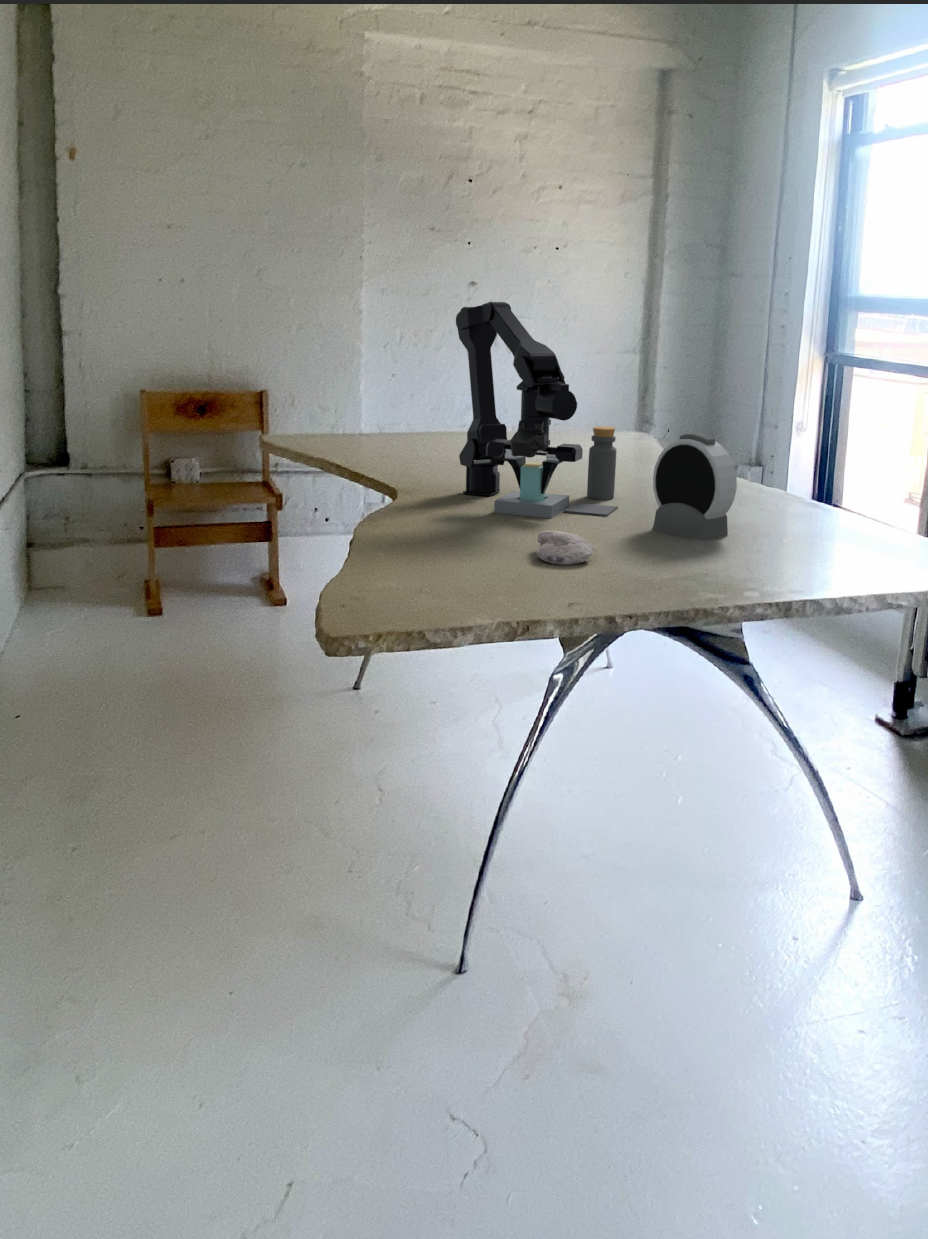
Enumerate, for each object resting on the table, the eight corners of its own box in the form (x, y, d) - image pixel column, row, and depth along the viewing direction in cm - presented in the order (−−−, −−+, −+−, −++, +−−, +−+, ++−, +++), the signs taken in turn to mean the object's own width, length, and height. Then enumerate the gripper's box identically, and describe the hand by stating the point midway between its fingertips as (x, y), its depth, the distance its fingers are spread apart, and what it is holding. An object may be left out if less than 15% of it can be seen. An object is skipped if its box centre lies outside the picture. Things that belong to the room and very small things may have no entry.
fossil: (601, 542, 173) (540, 547, 171) (601, 567, 174) (541, 572, 173) (583, 522, 184) (526, 527, 182) (582, 546, 185) (526, 550, 184)
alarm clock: (639, 527, 203) (645, 430, 197) (675, 520, 209) (682, 427, 203) (705, 543, 190) (713, 440, 185) (741, 536, 196) (751, 436, 191)
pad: (563, 512, 215) (563, 510, 215) (575, 504, 223) (575, 502, 223) (606, 516, 212) (606, 514, 212) (617, 508, 220) (618, 506, 219)
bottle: (612, 500, 228) (616, 430, 223) (585, 499, 229) (589, 428, 225) (614, 495, 233) (618, 426, 229) (588, 494, 235) (591, 425, 230)
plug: (519, 511, 216) (520, 464, 213) (525, 507, 219) (527, 461, 216) (538, 512, 214) (540, 465, 211) (544, 509, 218) (546, 463, 215)
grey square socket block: (494, 512, 213) (494, 500, 213) (513, 502, 224) (514, 490, 223) (551, 518, 209) (551, 505, 208) (568, 507, 220) (569, 495, 219)
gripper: (476, 416, 207) (475, 495, 212) (569, 422, 201) (565, 503, 205) (496, 411, 217) (494, 487, 222) (585, 416, 210) (581, 494, 215)
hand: (532, 493), depth 216 cm, fingers closed on plug, 4 cm apart
